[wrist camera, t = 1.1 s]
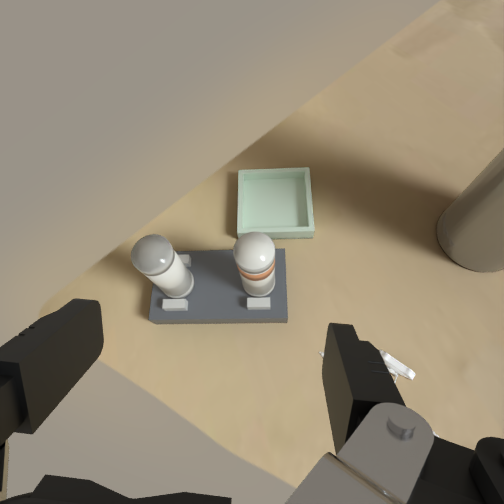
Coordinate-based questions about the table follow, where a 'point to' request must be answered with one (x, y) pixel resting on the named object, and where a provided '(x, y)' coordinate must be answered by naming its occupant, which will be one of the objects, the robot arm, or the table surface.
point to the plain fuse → (162, 266)
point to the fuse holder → (220, 293)
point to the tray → (275, 203)
